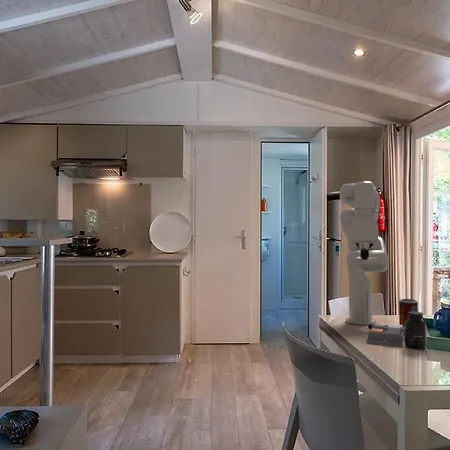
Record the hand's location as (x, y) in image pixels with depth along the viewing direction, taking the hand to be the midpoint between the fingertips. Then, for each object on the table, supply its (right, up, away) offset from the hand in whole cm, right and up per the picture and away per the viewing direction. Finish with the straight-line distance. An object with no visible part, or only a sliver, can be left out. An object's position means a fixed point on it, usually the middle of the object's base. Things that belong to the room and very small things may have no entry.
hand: (364, 259), depth 172 cm
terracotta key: (+1, -27, -12) cm, 30 cm away
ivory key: (+11, -27, -5) cm, 30 cm away
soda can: (+19, -29, +5) cm, 35 cm away
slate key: (+6, -26, -14) cm, 30 cm away
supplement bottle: (+11, -29, -20) cm, 37 cm away
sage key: (+5, -28, -3) cm, 28 cm away
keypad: (+6, -29, -8) cm, 31 cm away
